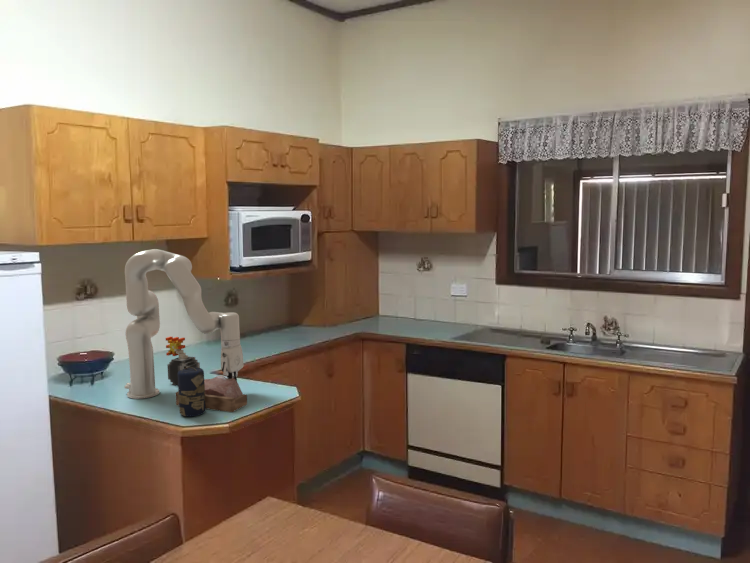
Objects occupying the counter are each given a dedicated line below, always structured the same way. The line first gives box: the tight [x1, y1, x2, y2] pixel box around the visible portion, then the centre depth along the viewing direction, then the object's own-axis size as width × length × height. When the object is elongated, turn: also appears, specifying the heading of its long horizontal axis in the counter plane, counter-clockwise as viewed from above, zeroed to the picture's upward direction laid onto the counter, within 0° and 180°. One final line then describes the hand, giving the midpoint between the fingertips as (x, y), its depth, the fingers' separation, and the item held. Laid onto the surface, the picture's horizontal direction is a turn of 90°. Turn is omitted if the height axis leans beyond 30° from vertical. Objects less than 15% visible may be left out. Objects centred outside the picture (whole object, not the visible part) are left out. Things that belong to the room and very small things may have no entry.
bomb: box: [165, 336, 201, 386], centre depth 287 cm, size 8×13×20 cm, turn 67°
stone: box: [204, 375, 244, 398], centre depth 261 cm, size 8×20×13 cm
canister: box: [177, 367, 207, 417], centre depth 245 cm, size 10×10×18 cm
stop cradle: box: [175, 391, 248, 413], centre depth 257 cm, size 26×10×5 cm, turn 68°
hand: (232, 386), depth 270 cm, fingers closed
